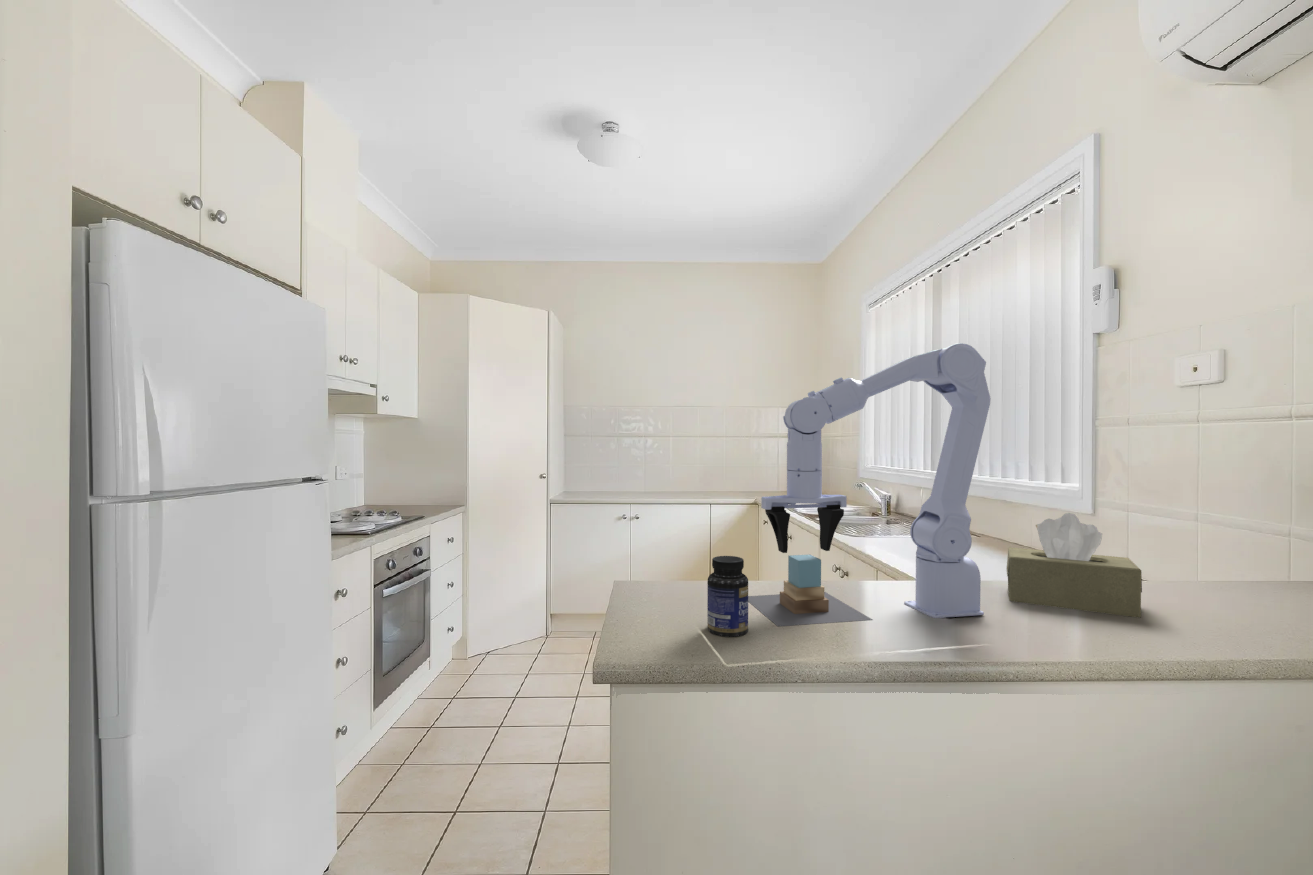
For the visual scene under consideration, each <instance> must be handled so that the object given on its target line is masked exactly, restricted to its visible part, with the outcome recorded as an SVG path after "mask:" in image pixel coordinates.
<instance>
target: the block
mask: <svg viewBox="0 0 1313 875" xmlns="http://www.w3.org/2000/svg"><path fill="white" fill-rule="evenodd" d="M787 557H788V562H787V563H788V565H787V566H788V567H787V573H788V574H787V576H788V577H787V578H788V580H787V581H788V582H790V583H791V584H793V585H795V586H796V587H798V588H807V587H821V585H822V559H821V558H819V557H816V556H814V555H812V554H809V553H808V554H793V555H788V556H787Z"/></svg>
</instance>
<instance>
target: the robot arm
mask: <svg viewBox="0 0 1313 875" xmlns="http://www.w3.org/2000/svg"><path fill="white" fill-rule="evenodd" d="M986 365H987V361H986V360H985V359H984V358H983V356H982V355H981V354H980V353H979V351H977V349H976V348H974V347H973V346H972V345H971V344H967V343H963V342H962V343H961V342H960V343H959V342H958V343H954V344H951V345H949V346H947V347H944V348H940V349H939V348H938V349H935V350H931V351H928V352H925V353H921V354H917V355H913V356H910V357H908V358H907V357H906V358H904V359H902V360H901V361H898V362H896V363H893V364H892V365H890V366H888V367H885V368H884V369H881V370H880V371H878V372H876V373H874V374H871V375H870V376H868V377H865V378H863V379H862V380H856V379H854V378H852V377H847V378H845V379H843V377H839V378H835V379H834V380H833V381H832V382H833V384H832V385H829V386H827V387H824V388H822V389H820V390H818V391H816V392H815V390H812V391H809V392H808V393H807V396H805V397H803V398H802V399H801V398H800V399H797V400H795V401H792V402H791V403H790V404H789V405H788V407H787V408H786V410H785V411H784V412H785V413H784V415H783V416H782V419H783V423H784V425H785V427H786V428H787V433H786V434H787V435H786V436H787V442H786V494H784V495H783V494H782V495H773V496H772V495H770V496H761V498H760V501H761V509H763V510H764V512H765V514H766V517H767V518H768V520H769V523H770V524H771V526H772V527H771V528H772V529H773V533H774V535H775V540H776V544H777V549H778V551H779V552H781V553H782V554H787V553H788V549H789V548H788V545H789V544H788V543H789V540H788V539H789V537H788V532H789V524H790V518H791V514H790V512H787V509H805V508H807V509H808V508H809V509H810V508H811V509H813V508H817V509H816V510H817V516H818V521H819V546H820V550H823V551H825V552H830V550H831V546H832V541H833V538H834V536H835V532H836V529H837V528H838V526H839V524H840V521H841V520H842V518H843V517H844V515H845V509H843V508H847V503H848V502H847V501H848V500H847V499H848V498H847V495H843V494H823V488H822V487H823V454H822V453H823V443H822V429H824V427H825V426H826V424H832V423H834V422H837V421H838V420H840V419H843V418H845V417H847V416H849V415H851V414H852V415H853V414H855V413H856V412H858V411H862V410H863V409H864V407H865V406H866V403H867V400H868V399H869V398H870V397H872V396H876V395H877V394H880V393H883V392H886V391H887V390H888V391H889V390H890V389H892V388H895V387H897V386H900V385H902V384H905V383H906V382H909V381H911V382H914V383H915V382H916V383H919V382H924V384H925V385H927V386H929V387H930V388H931V389H934V390H935V391H936V392H938V393H940V394H941V395H942V396H943V397H944V399H945V400H946V401H947V402H948V403H949V405H950V406H951V411H950V415H949V420H948V423H947V427H946V432H945V435H944V440H943V443H942V447H941V452H940V457H939V458H938V459H939V460H938V464H937V467H936V471H935V476H934V481H933V484H932V487H931V488H932V489H931V493H930V496H929V498H928V499H926V501H924V502H923V504H922V505H921V507H920V511H919V514H918V515H917V517H916V518H915V519H914V520H913V522H912V523H911V525H910V530H909V533H910V538H911V540H912V542H913V543H914V544H915V546H916V551H915V600H908V601H907V600H905V601H904V602H903V603H904V605H905V606H907V607H909V608H911V609H914V610H915V611H918V612H920V613H922V614H924V615H926V616H928V617H930V618H934V619H940V618H941V619H942V618H955V617H956V618H958V617H972V616H983V615H984V614H985V613H984V611H983V610H981V572H980V568H979V566H978V564H977V563H976V561H974V559H972V558H971V557H967V554H968V553H969V552H970V550H971V547H972V535H971V529H970V527H971V522H972V518H971V516H970V513H969V510H968V508H967V506H966V503H967V499H968V495H969V490H970V486H971V483H972V479H973V475H974V470H975V467H976V463H977V459H978V455H979V451H980V450H979V449H980V447H981V446H980V445H981V443H982V438H983V434H984V430H985V426H986V422H987V420H988V419H987V417H988V414H989V410H990V406H991V394H990V391H989V387H988V383H987V379H986V376H985V375H986V374H985V370H986Z"/></svg>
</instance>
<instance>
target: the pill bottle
mask: <svg viewBox="0 0 1313 875" xmlns="http://www.w3.org/2000/svg"><path fill="white" fill-rule="evenodd" d="M711 560H712V562H711V564H712V569H713V572H711V573H710V574H709V575H708V577H707V613H706V614H707V615H706V616H707V626H706V628H707V630H708V632H709V633H710V634H712V635H715V636H717V637H725V638H737V637H742V636H744V635H747V633H748V632H749V602H748V596H749V578H748V577H747V575H746V574H745V573H743V569H744V566H745V562H744V561H745V560H744V558H742V557H740V556H735V555H720V556H719V555H718V556H715V557H713V558H712V559H711Z"/></svg>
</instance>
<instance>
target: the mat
mask: <svg viewBox="0 0 1313 875" xmlns="http://www.w3.org/2000/svg"><path fill="white" fill-rule="evenodd" d="M824 597H825V598H827V599H828V600H829V612H818V613H802V614H794V613H792V612H791V611H790V610H788V609H787V608H786V607H784V606H783V605H782V604H780V593H779V594H763V595H761V594H759V595H748V604H750V605H751V606H753V607H754V608H755V609H757V611H759V613H761V614H762V615H763V616H765V617H766V618H767V619H768V620H769V621H771V622H772V623H773V624H774V625H775V626H776V627H778V628H779V627H790V626H791V627H792V626H803V625H804V626H805V625H820V624H833V623H834V624H835V623H848V622H850V623H851V622H862V621H863V622H865V621H866V622H867V621H874V619H872V618H871V617H869V616H867V615H866V614H865V613H862V612H860V611H859V610H857V609H856V608H854V607H852V606H850V605H849V604H847V603H845V602H844V601H841V600H840V599H837V598H836V597H835V596H834V595H831V594H830V593H828V592H826V591H824Z"/></svg>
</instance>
